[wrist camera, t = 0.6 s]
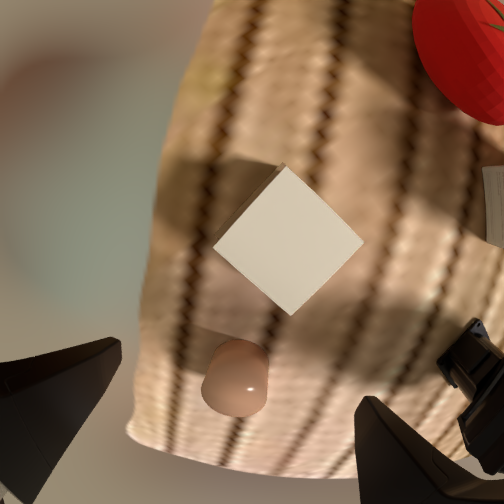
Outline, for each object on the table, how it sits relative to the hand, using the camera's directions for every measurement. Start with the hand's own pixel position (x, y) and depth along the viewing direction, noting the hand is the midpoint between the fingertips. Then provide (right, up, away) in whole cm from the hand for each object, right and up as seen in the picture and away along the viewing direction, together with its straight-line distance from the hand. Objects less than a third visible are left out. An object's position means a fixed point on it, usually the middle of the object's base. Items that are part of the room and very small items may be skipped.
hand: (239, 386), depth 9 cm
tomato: (+18, +21, +7) cm, 29 cm away
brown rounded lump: (-1, -5, +15) cm, 16 cm away
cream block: (+2, +6, +8) cm, 10 cm away
